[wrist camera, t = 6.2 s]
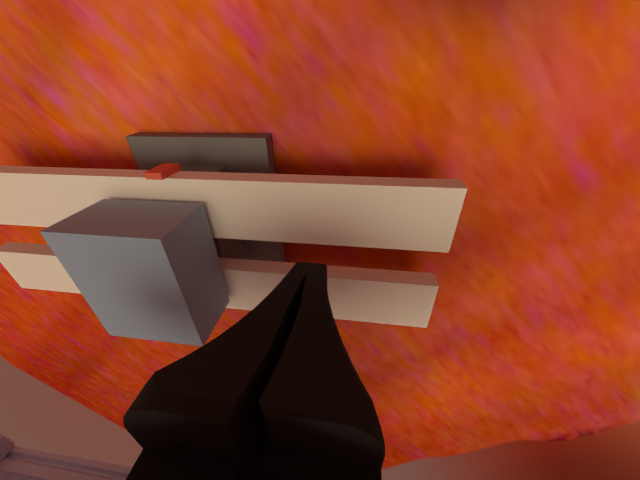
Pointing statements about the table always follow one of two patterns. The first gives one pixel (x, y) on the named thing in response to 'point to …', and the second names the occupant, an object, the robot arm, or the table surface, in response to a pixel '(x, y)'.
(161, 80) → the table surface
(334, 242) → the balance beam
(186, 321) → the block
